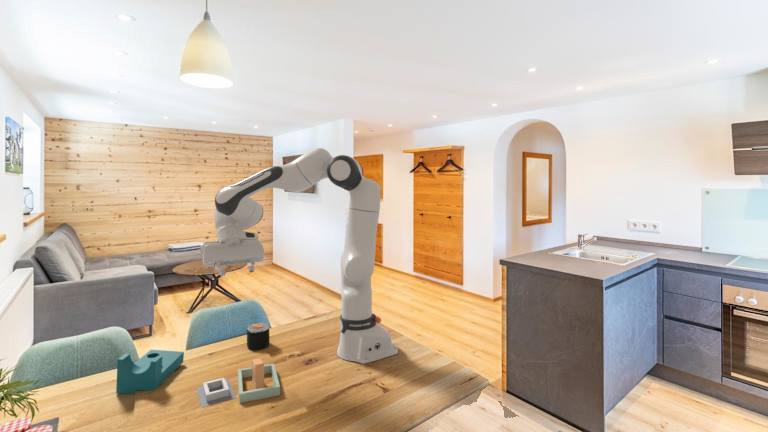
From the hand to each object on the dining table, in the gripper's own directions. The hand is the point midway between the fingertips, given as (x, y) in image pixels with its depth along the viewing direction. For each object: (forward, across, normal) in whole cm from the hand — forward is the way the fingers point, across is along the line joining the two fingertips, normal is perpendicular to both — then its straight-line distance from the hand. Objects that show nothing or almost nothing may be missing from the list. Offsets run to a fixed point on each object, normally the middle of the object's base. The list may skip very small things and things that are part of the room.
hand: (237, 273), depth 129 cm
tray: (+37, +1, +8) cm, 37 cm away
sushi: (+15, +9, +30) cm, 34 cm away
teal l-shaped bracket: (+20, -26, +25) cm, 41 cm away
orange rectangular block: (+36, +1, +7) cm, 37 cm away
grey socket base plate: (+35, -10, +10) cm, 38 cm away
